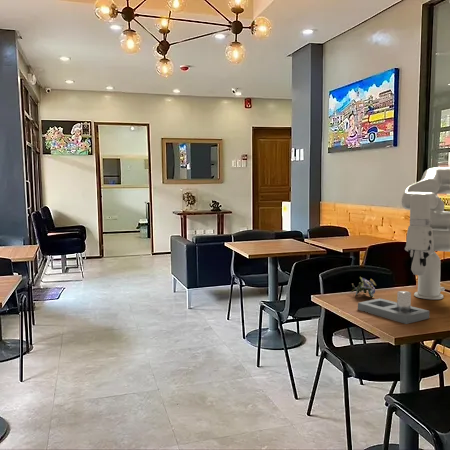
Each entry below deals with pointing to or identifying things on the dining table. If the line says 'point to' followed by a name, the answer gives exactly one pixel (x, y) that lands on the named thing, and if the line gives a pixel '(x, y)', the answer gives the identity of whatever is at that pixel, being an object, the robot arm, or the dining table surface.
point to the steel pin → (404, 302)
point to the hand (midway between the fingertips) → (418, 266)
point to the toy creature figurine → (365, 287)
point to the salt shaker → (417, 264)
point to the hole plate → (392, 311)
